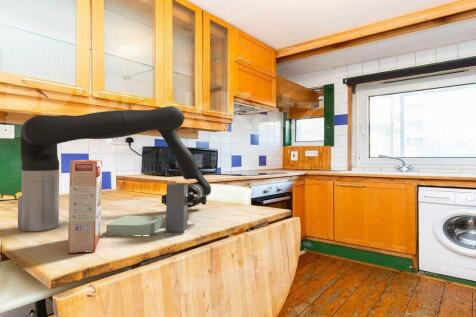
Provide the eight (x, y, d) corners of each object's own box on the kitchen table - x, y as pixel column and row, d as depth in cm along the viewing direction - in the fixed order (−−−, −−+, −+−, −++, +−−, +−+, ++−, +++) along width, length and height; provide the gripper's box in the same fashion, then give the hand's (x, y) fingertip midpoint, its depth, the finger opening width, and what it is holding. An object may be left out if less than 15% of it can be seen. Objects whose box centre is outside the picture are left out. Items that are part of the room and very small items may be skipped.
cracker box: (97, 252, 66) (98, 160, 65) (66, 255, 63) (67, 160, 63) (102, 235, 79) (103, 159, 78) (77, 237, 76) (78, 159, 76)
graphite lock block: (166, 233, 82) (166, 184, 82) (170, 229, 87) (171, 182, 87) (183, 234, 82) (184, 184, 82) (187, 229, 87) (187, 183, 87)
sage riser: (106, 235, 79) (106, 224, 79) (125, 225, 91) (125, 215, 91) (149, 236, 79) (149, 225, 79) (162, 225, 91) (162, 216, 91)
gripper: (171, 184, 104) (157, 189, 88) (210, 185, 104) (203, 190, 88) (170, 205, 104) (156, 214, 88) (209, 206, 104) (202, 215, 88)
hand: (179, 202), depth 88 cm, fingers open, 8 cm apart
